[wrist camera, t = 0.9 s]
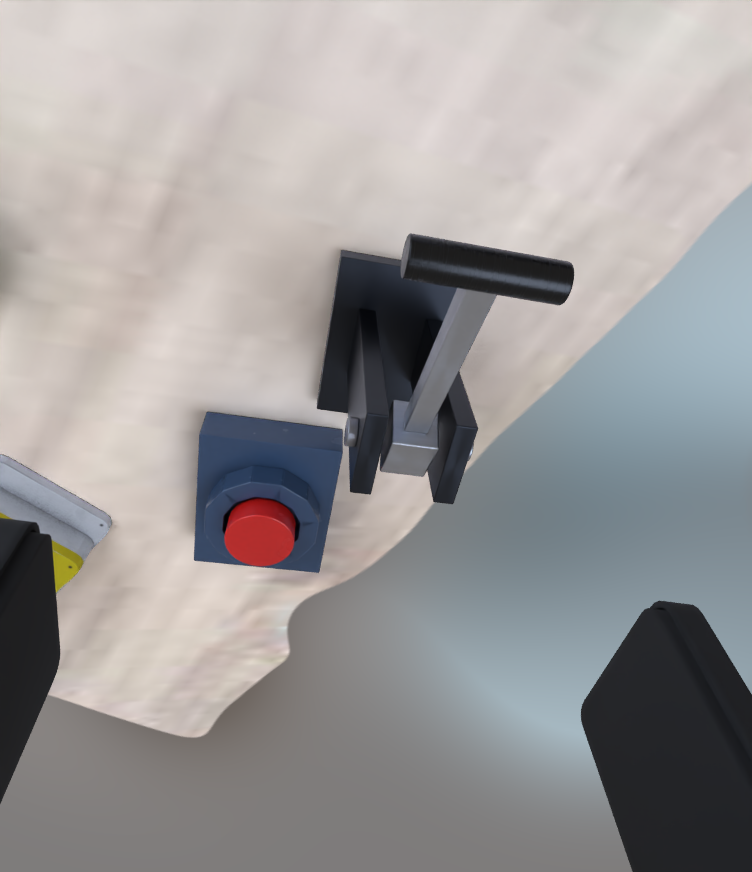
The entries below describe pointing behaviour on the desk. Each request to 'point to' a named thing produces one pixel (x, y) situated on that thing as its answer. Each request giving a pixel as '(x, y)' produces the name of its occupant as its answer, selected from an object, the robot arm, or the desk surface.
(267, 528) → the button
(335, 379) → the bracket
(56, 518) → the emergency button
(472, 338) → the lever
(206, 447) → the button box
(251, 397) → the desk surface
